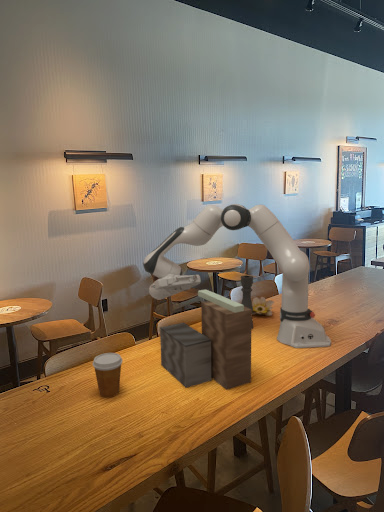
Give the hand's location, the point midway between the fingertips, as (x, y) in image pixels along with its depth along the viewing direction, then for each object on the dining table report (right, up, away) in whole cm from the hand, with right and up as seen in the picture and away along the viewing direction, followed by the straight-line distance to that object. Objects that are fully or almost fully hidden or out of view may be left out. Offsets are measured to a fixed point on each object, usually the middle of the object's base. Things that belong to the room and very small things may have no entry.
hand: (186, 278), depth 154 cm
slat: (+12, -8, -19) cm, 24 cm away
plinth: (+14, -34, -18) cm, 41 cm away
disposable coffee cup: (-25, -36, -28) cm, 52 cm away
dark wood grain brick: (0, -33, -15) cm, 37 cm away
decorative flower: (+37, -23, +48) cm, 65 cm away
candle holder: (+28, -26, +30) cm, 49 cm away
